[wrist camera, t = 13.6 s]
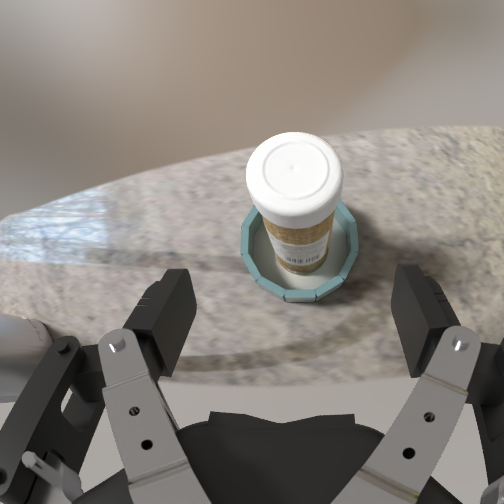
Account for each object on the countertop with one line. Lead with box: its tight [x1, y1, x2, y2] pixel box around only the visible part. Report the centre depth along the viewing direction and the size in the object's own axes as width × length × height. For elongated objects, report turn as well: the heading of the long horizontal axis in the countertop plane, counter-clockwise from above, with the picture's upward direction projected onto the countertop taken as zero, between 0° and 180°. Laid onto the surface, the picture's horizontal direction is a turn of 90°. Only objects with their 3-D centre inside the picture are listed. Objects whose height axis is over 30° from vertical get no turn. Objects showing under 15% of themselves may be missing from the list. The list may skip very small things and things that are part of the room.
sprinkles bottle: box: [246, 132, 343, 275], centre depth 20 cm, size 5×5×14 cm
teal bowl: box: [240, 199, 359, 302], centre depth 26 cm, size 9×9×3 cm
